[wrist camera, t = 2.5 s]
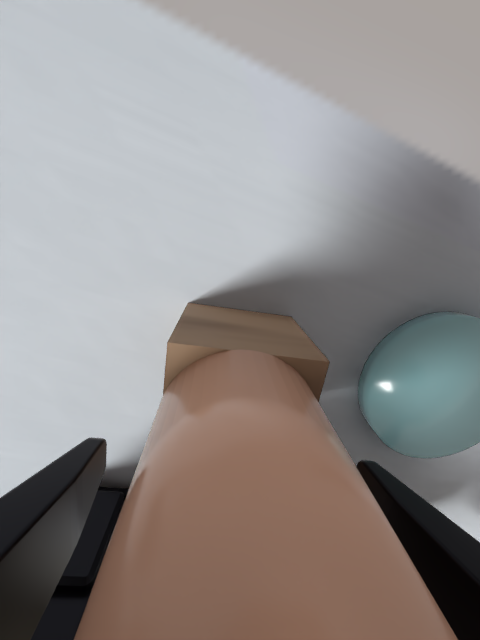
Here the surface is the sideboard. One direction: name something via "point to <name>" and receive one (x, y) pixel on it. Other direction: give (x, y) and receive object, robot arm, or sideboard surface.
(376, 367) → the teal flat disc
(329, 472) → the peach rounded cylinder
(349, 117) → the sideboard surface
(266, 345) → the block
